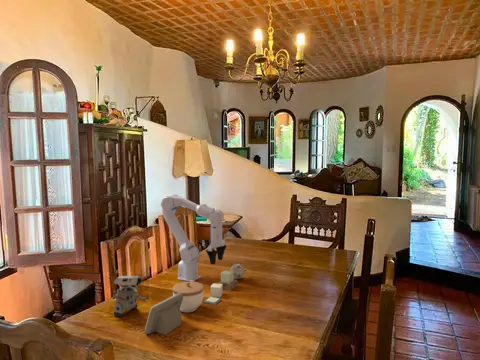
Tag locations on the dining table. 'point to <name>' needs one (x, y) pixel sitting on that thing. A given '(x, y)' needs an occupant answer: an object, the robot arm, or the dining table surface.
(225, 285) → the walnut base
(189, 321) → the dining table surface
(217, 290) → the cream cube
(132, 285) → the figurine
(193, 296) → the lidded bowl
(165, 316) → the digital clock
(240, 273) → the game die
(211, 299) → the tile
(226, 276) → the sage cube
